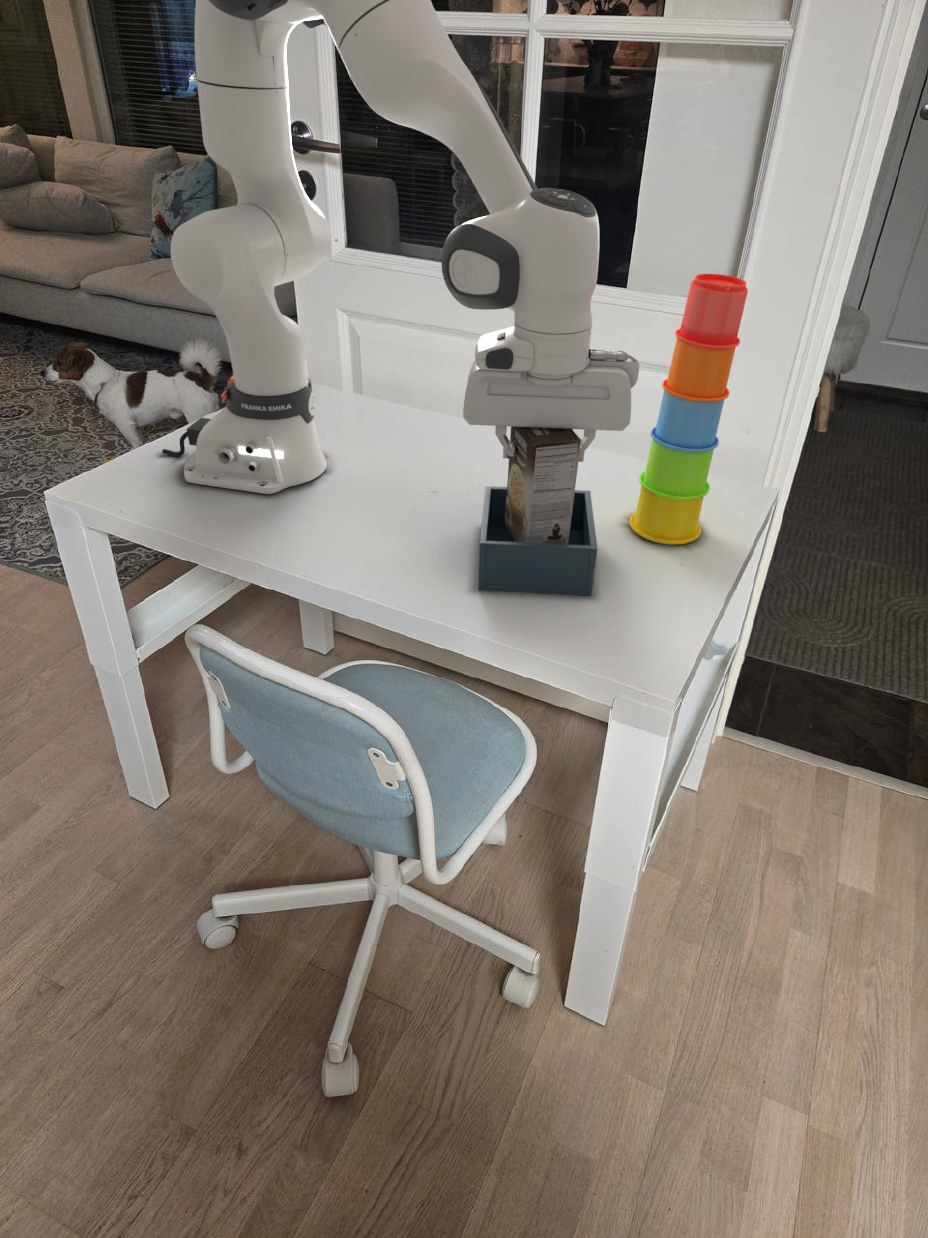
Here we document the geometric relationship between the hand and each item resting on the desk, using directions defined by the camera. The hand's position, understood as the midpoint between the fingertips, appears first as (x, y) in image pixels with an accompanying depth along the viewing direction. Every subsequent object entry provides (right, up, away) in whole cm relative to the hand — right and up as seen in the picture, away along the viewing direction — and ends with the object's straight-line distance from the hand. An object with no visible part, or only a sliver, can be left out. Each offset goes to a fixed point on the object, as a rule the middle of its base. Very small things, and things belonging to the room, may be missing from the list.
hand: (542, 458), depth 103 cm
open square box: (0, -12, +9) cm, 15 cm away
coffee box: (0, -10, +7) cm, 12 cm away
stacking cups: (+19, -7, +17) cm, 27 cm away
